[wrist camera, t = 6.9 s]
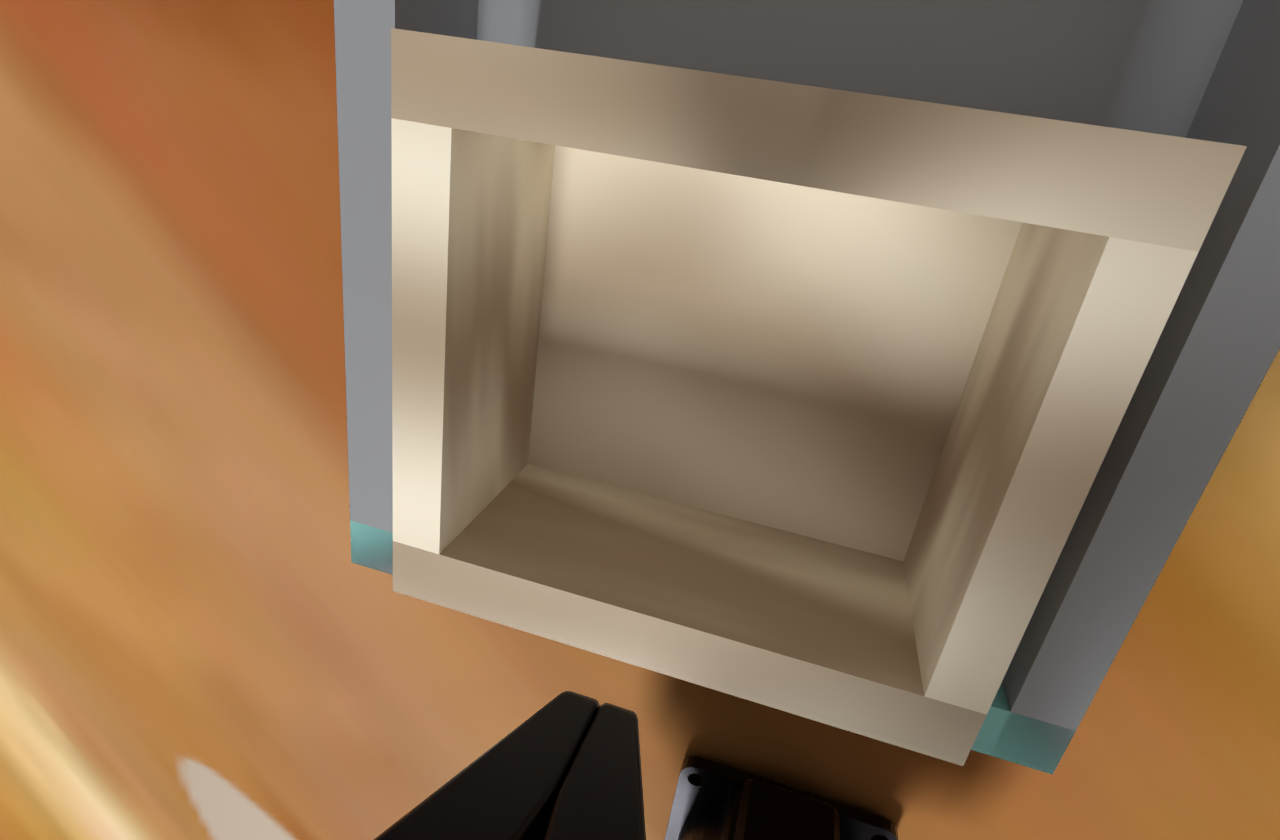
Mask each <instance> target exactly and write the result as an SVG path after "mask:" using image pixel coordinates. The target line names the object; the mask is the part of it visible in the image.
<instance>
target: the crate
mask: <svg viewBox="0 0 1280 840" xmlns="http://www.w3.org/2000/svg"><path fill="white" fill-rule="evenodd" d="M391 139H392V469H393V591H395V592H398V593H401V594H405V595H408V596H411V597H414V598H418V599H421V600H424V601H427V602H431V603H434V604H437V605H440V606H444V607H447V608H450V609H453V610H457V611H460V612H463V613H466V614H470V615H473V616H476V617H479V618H483V619H486V620H489V621H492V622H496V623H499V624H502V625H505V626H509V627H512V628H515V629H518V630H522V631H525V632H528V633H531V634H535V635H538V636H541V637H544V638H548V639H551V640H554V641H557V642H561V643H564V644H567V645H570V646H574V647H577V648H580V649H583V650H587V651H590V652H593V653H596V654H600V655H603V656H606V657H609V658H613V659H616V660H619V661H622V662H626V663H629V664H632V665H635V666H639V667H642V668H645V669H648V670H652V671H655V672H658V673H661V674H665V675H668V676H671V677H674V678H678V679H681V680H684V681H687V682H691V683H694V684H697V685H700V686H704V687H707V688H710V689H713V690H717V691H720V692H723V693H726V694H730V695H733V696H736V697H739V698H743V699H746V700H749V701H752V702H756V703H759V704H762V705H765V706H769V707H772V708H775V709H778V710H782V711H785V712H788V713H791V714H795V715H798V716H801V717H804V718H808V719H811V720H814V721H817V722H821V723H824V724H827V725H830V726H834V727H837V728H840V729H843V730H847V731H850V732H853V733H856V734H860V735H863V736H866V737H869V738H873V739H876V740H879V741H882V742H886V743H889V744H892V745H895V746H899V747H902V748H905V749H908V750H912V751H915V752H918V753H922V754H925V755H928V756H931V757H935V758H938V759H941V760H944V761H948V762H951V763H954V764H957V765H961V766H964V764H965V761H966V759H967V757H968V755H969V753H970V750H971V748H972V746H973V744H974V742H975V739H976V737H977V735H978V733H979V731H980V729H981V726H982V724H983V722H984V720H985V718H986V715H987V713H988V711H989V709H990V707H991V705H992V702H993V700H994V698H995V696H996V694H997V691H998V689H999V687H1000V685H1001V683H1002V680H1003V678H1004V676H1005V674H1006V672H1007V670H1008V667H1009V665H1010V663H1011V661H1012V659H1013V656H1014V654H1015V652H1016V650H1017V648H1018V646H1019V643H1020V641H1021V639H1022V637H1023V635H1024V632H1025V630H1026V628H1027V626H1028V624H1029V621H1030V619H1031V617H1032V615H1033V613H1034V611H1035V608H1036V606H1037V604H1038V602H1039V600H1040V597H1041V595H1042V593H1043V591H1044V589H1045V587H1046V584H1047V582H1048V580H1049V578H1050V576H1051V573H1052V571H1053V569H1054V567H1055V565H1056V562H1057V560H1058V558H1059V556H1060V554H1061V552H1062V549H1063V547H1064V545H1065V543H1066V541H1067V538H1068V536H1069V534H1070V532H1071V530H1072V528H1073V525H1074V523H1075V521H1076V519H1077V517H1078V514H1079V512H1080V510H1081V508H1082V506H1083V503H1084V501H1085V499H1086V497H1087V495H1088V493H1089V490H1090V488H1091V486H1092V484H1093V482H1094V479H1095V477H1096V475H1097V473H1098V471H1099V469H1100V466H1101V464H1102V462H1103V460H1104V458H1105V455H1106V453H1107V451H1108V449H1109V447H1110V444H1111V442H1112V440H1113V438H1114V436H1115V434H1116V431H1117V429H1118V427H1119V425H1120V423H1121V420H1122V418H1123V416H1124V414H1125V412H1126V410H1127V407H1128V405H1129V403H1130V401H1131V399H1132V396H1133V394H1134V392H1135V390H1136V388H1137V385H1138V383H1139V381H1140V379H1141V377H1142V375H1143V372H1144V370H1145V368H1146V366H1147V364H1148V361H1149V359H1150V357H1151V355H1152V353H1153V351H1154V348H1155V346H1156V344H1157V342H1158V340H1159V337H1160V335H1161V333H1162V331H1163V329H1164V327H1165V324H1166V322H1167V320H1168V318H1169V316H1170V313H1171V311H1172V309H1173V307H1174V305H1175V302H1176V300H1177V298H1178V296H1179V294H1180V292H1181V289H1182V287H1183V285H1184V283H1185V281H1186V278H1187V276H1188V274H1189V272H1190V270H1191V268H1192V265H1193V263H1194V261H1195V259H1196V257H1197V254H1198V252H1199V250H1200V248H1201V246H1202V243H1203V241H1204V239H1205V237H1206V235H1207V233H1208V230H1209V228H1210V226H1211V224H1212V222H1213V219H1214V217H1215V215H1216V213H1217V211H1218V209H1219V206H1220V204H1221V202H1222V200H1223V198H1224V195H1225V193H1226V191H1227V189H1228V187H1229V184H1230V182H1231V180H1232V178H1233V176H1234V174H1235V171H1236V169H1237V167H1238V165H1239V163H1240V160H1241V158H1242V156H1243V154H1244V152H1245V150H1246V147H1247V146H1242V145H1234V144H1227V143H1220V142H1213V141H1205V140H1198V139H1191V138H1184V137H1177V136H1169V135H1162V134H1155V133H1148V132H1140V131H1133V130H1126V129H1119V128H1111V127H1104V126H1097V125H1090V124H1082V123H1075V122H1068V121H1061V120H1054V119H1046V118H1039V117H1032V116H1025V115H1017V114H1010V113H1003V112H996V111H988V110H981V109H974V108H967V107H959V106H952V105H945V104H938V103H931V102H923V101H916V100H909V99H902V98H894V97H887V96H880V95H873V94H865V93H858V92H851V91H844V90H836V89H829V88H822V87H815V86H808V85H800V84H793V83H786V82H779V81H771V80H764V79H757V78H750V77H742V76H735V75H728V74H721V73H713V72H706V71H699V70H692V69H685V68H677V67H670V66H663V65H656V64H648V63H641V62H634V61H627V60H619V59H612V58H605V57H598V56H591V55H583V54H576V53H569V52H562V51H554V50H547V49H540V48H533V47H525V46H518V45H511V44H504V43H496V42H489V41H482V40H475V39H468V38H460V37H453V36H446V35H439V34H431V33H424V32H417V31H410V30H402V29H395V28H391Z"/></svg>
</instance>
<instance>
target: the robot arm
mask: <svg viewBox="0 0 1280 840" xmlns="http://www.w3.org/2000/svg"><path fill="white" fill-rule="evenodd" d="M694 773H696V774H699V775H696V774H694ZM881 835H882V836H881ZM374 840H646V834H645V819H644V804H643V789H642V774H641V759H640V744H639V729H638V718H637V715H636V714H635V712H633V711H630V710H627V709H624V708H621V707H618V706H615V705H612V704H609V703H604V704H602V705H601V706H600V705H599V703H598V701H597V700H595V699H593V698H590V697H587V696H584V695H581V694H577V693H574V692H571V691H566V692H563V693H561V694H560V695H558V696H557V697H556V698H555V699H553V700H552V701H551V702H549V703H548V704H547V705H546V706H544V707H543V708H542V709H540V710H539V711H538V712H537V713H535V714H534V715H533V716H532V717H530V718H529V719H528V720H526V721H525V722H524V723H523V724H521V725H520V726H519V727H517V728H516V729H515V730H514V731H512V732H511V733H510V734H508V735H507V736H506V737H505V738H503V739H502V740H501V741H500V742H498V743H497V744H496V745H494V746H493V747H492V748H491V749H489V750H488V751H487V752H485V753H484V754H483V755H482V756H480V757H479V758H478V759H476V760H475V761H474V762H473V763H471V764H470V765H469V766H468V767H466V768H465V769H464V770H462V771H461V772H460V773H459V774H457V775H456V776H455V777H453V778H452V779H451V780H450V781H448V782H447V783H446V784H444V785H443V786H442V787H441V788H439V789H438V790H437V791H436V792H434V793H433V794H432V795H430V796H429V797H428V798H427V799H425V800H424V801H423V802H421V803H420V804H419V805H418V806H416V807H415V808H414V809H412V810H411V811H410V812H409V813H407V814H406V815H405V816H403V817H402V818H401V819H400V820H398V821H397V822H396V823H395V824H393V825H392V826H391V827H389V828H388V829H387V830H386V831H384V832H383V833H382V834H380V835H379V836H378V837H377V838H375V839H374ZM665 840H898V833H897V828H896V826H895V824H893V823H892V822H891V821H890V820H888V819H886V818H884V817H881V816H878V815H875V814H872V813H869V812H866V811H863V810H860V809H856V808H853V807H850V806H847V805H844V804H841V803H838V802H835V801H832V800H829V799H826V798H823V797H820V796H817V795H814V794H811V793H808V792H805V791H802V790H798V789H795V788H792V787H789V786H786V785H783V784H780V783H777V782H774V781H771V780H768V779H765V778H762V777H759V776H756V775H753V774H750V773H747V772H743V771H740V770H737V769H734V768H731V767H728V766H725V765H722V764H719V763H716V762H713V761H710V760H707V759H704V758H701V757H695V756H694V757H689V758H687V759H685V760H684V762H683V764H682V768H681V771H680V776H679V780H678V784H677V789H676V793H675V797H674V802H673V806H672V810H671V815H670V819H669V823H668V828H667V832H666V836H665Z"/></svg>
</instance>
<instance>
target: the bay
mask: <svg viewBox="0 0 1280 840" xmlns="http://www.w3.org/2000/svg"><path fill="white" fill-rule="evenodd" d="M334 20H335V52H336V84H337V115H338V147H339V179H340V210H341V242H342V273H343V305H344V337H345V368H346V400H347V432H348V463H349V495H350V527H351V558H352V563H356V564H359V565H362V566H366V567H369V568H372V569H376V570H379V571H382V572H385V573H389V574H392V575H393V469H392V139H391V28H395V29H402V30H410V31H417V32H424V33H431V34H439V35H446V36H453V37H460V38H468V39H475V40H482V41H489V42H496V43H504V44H511V45H518V46H525V47H533V48H540V49H547V50H554V51H562V52H569V53H576V54H583V55H591V56H598V57H605V58H612V59H619V60H627V61H634V62H641V63H648V64H656V65H663V66H670V67H677V68H685V69H692V70H699V71H706V72H713V73H721V74H728V75H735V76H742V77H750V78H757V79H764V80H771V81H779V82H786V83H793V84H800V85H808V86H815V87H822V88H829V89H836V90H844V91H851V92H858V93H865V94H873V95H880V96H887V97H894V98H902V99H909V100H916V101H923V102H931V103H938V104H945V105H952V106H959V107H967V108H974V109H981V110H988V111H996V112H1003V113H1010V114H1017V115H1025V116H1032V117H1039V118H1046V119H1054V120H1061V121H1068V122H1075V123H1082V124H1090V125H1097V126H1104V127H1111V128H1119V129H1126V130H1133V131H1140V132H1148V133H1155V134H1162V135H1169V136H1177V137H1184V138H1191V139H1198V140H1205V141H1213V142H1220V143H1227V144H1234V145H1242V146H1247V147H1246V150H1245V152H1244V154H1243V156H1242V158H1241V160H1240V163H1239V165H1238V167H1237V169H1236V171H1235V174H1234V176H1233V178H1232V180H1231V182H1230V184H1229V187H1228V189H1227V191H1226V193H1225V195H1224V198H1223V200H1222V202H1221V204H1220V206H1219V209H1218V211H1217V213H1216V215H1215V217H1214V219H1213V222H1212V224H1211V226H1210V228H1209V230H1208V233H1207V235H1206V237H1205V239H1204V241H1203V243H1202V246H1201V248H1200V250H1199V252H1198V254H1197V257H1196V259H1195V261H1194V263H1193V265H1192V268H1191V270H1190V272H1189V274H1188V276H1187V278H1186V281H1185V283H1184V285H1183V287H1182V289H1181V292H1180V294H1179V296H1178V298H1177V300H1176V302H1175V305H1174V307H1173V309H1172V311H1171V313H1170V316H1169V318H1168V320H1167V322H1166V324H1165V327H1164V329H1163V331H1162V333H1161V335H1160V337H1159V340H1158V342H1157V344H1156V346H1155V348H1154V351H1153V353H1152V355H1151V357H1150V359H1149V361H1148V364H1147V366H1146V368H1145V370H1144V372H1143V375H1142V377H1141V379H1140V381H1139V383H1138V385H1137V388H1136V390H1135V392H1134V394H1133V396H1132V399H1131V401H1130V403H1129V405H1128V407H1127V410H1126V412H1125V414H1124V416H1123V418H1122V420H1121V423H1120V425H1119V427H1118V429H1117V431H1116V434H1115V436H1114V438H1113V440H1112V442H1111V444H1110V447H1109V449H1108V451H1107V453H1106V455H1105V458H1104V460H1103V462H1102V464H1101V466H1100V469H1099V471H1098V473H1097V475H1096V477H1095V479H1094V482H1093V484H1092V486H1091V488H1090V490H1089V493H1088V495H1087V497H1086V499H1085V501H1084V503H1083V506H1082V508H1081V510H1080V512H1079V514H1078V517H1077V519H1076V521H1075V523H1074V525H1073V528H1072V530H1071V532H1070V534H1069V536H1068V538H1067V541H1066V543H1065V545H1064V547H1063V549H1062V552H1061V554H1060V556H1059V558H1058V560H1057V562H1056V565H1055V567H1054V569H1053V571H1052V573H1051V576H1050V578H1049V580H1048V582H1047V584H1046V587H1045V589H1044V591H1043V593H1042V595H1041V597H1040V600H1039V602H1038V604H1037V606H1036V608H1035V611H1034V613H1033V615H1032V617H1031V619H1030V621H1029V624H1028V626H1027V628H1026V630H1025V632H1024V635H1023V637H1022V639H1021V641H1020V643H1019V646H1018V648H1017V650H1016V652H1015V654H1014V656H1013V659H1012V661H1011V663H1010V665H1009V667H1008V670H1007V672H1006V674H1005V676H1004V678H1003V680H1002V683H1001V685H1000V687H999V689H998V691H997V694H996V696H995V698H994V700H993V702H992V705H991V707H990V709H989V711H988V713H987V715H986V718H985V720H984V722H983V724H982V726H981V729H980V731H979V733H978V735H977V737H976V739H975V742H974V744H973V746H972V748H971V750H974V751H977V752H980V753H983V754H987V755H990V756H993V757H997V758H1000V759H1003V760H1007V761H1010V762H1013V763H1016V764H1020V765H1023V766H1026V767H1030V768H1033V769H1036V770H1040V771H1043V772H1046V773H1049V774H1053V773H1054V771H1055V769H1056V767H1057V765H1058V763H1059V761H1060V759H1061V758H1062V756H1063V754H1064V752H1065V750H1066V748H1067V746H1068V744H1069V743H1070V741H1071V739H1072V737H1073V735H1074V733H1075V731H1076V729H1077V728H1078V726H1079V724H1080V722H1081V720H1082V718H1083V716H1084V714H1085V713H1086V711H1087V709H1088V707H1089V705H1090V703H1091V701H1092V699H1093V698H1094V696H1095V694H1096V692H1097V690H1098V688H1099V686H1100V684H1101V683H1102V681H1103V679H1104V677H1105V675H1106V673H1107V671H1108V669H1109V668H1110V666H1111V664H1112V662H1113V660H1114V658H1115V656H1116V654H1117V653H1118V651H1119V649H1120V647H1121V645H1122V643H1123V641H1124V639H1125V638H1126V636H1127V634H1128V632H1129V630H1130V628H1131V626H1132V624H1133V623H1134V621H1135V619H1136V617H1137V615H1138V613H1139V611H1140V609H1141V607H1142V606H1143V604H1144V602H1145V600H1146V598H1147V596H1148V594H1149V592H1150V591H1151V589H1152V587H1153V585H1154V583H1155V581H1156V579H1157V577H1158V576H1159V574H1160V572H1161V570H1162V568H1163V566H1164V564H1165V562H1166V561H1167V559H1168V557H1169V555H1170V553H1171V551H1172V549H1173V547H1174V546H1175V544H1176V542H1177V540H1178V538H1179V536H1180V534H1181V532H1182V531H1183V529H1184V527H1185V525H1186V523H1187V521H1188V519H1189V517H1190V516H1191V514H1192V512H1193V510H1194V508H1195V506H1196V504H1197V502H1198V501H1199V499H1200V497H1201V495H1202V493H1203V491H1204V489H1205V487H1206V486H1207V484H1208V482H1209V480H1210V478H1211V476H1212V474H1213V472H1214V471H1215V469H1216V467H1217V465H1218V463H1219V461H1220V459H1221V457H1222V456H1223V454H1224V452H1225V450H1226V448H1227V446H1228V444H1229V442H1230V441H1231V439H1232V437H1233V435H1234V433H1235V431H1236V429H1237V427H1238V426H1239V424H1240V422H1241V420H1242V418H1243V416H1244V414H1245V412H1246V411H1247V409H1248V407H1249V405H1250V403H1251V401H1252V399H1253V397H1254V396H1255V394H1256V392H1257V390H1258V388H1259V386H1260V384H1261V382H1262V381H1263V379H1264V377H1265V375H1266V373H1267V371H1268V369H1269V367H1270V366H1271V364H1272V362H1273V360H1274V358H1275V356H1276V354H1277V352H1278V351H1279V349H1280V0H334Z"/></svg>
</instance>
